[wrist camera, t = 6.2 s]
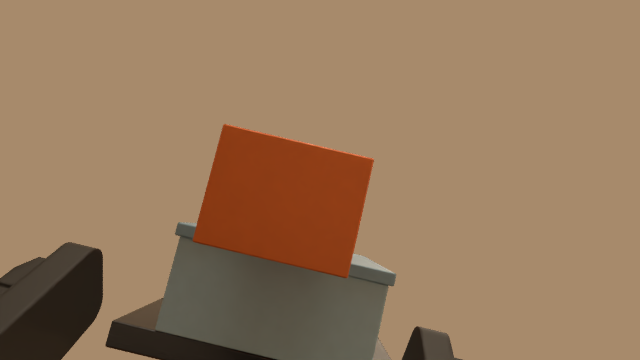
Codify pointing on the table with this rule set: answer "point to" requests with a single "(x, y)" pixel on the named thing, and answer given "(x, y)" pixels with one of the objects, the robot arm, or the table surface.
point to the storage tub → (272, 304)
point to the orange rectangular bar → (284, 201)
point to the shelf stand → (176, 340)
